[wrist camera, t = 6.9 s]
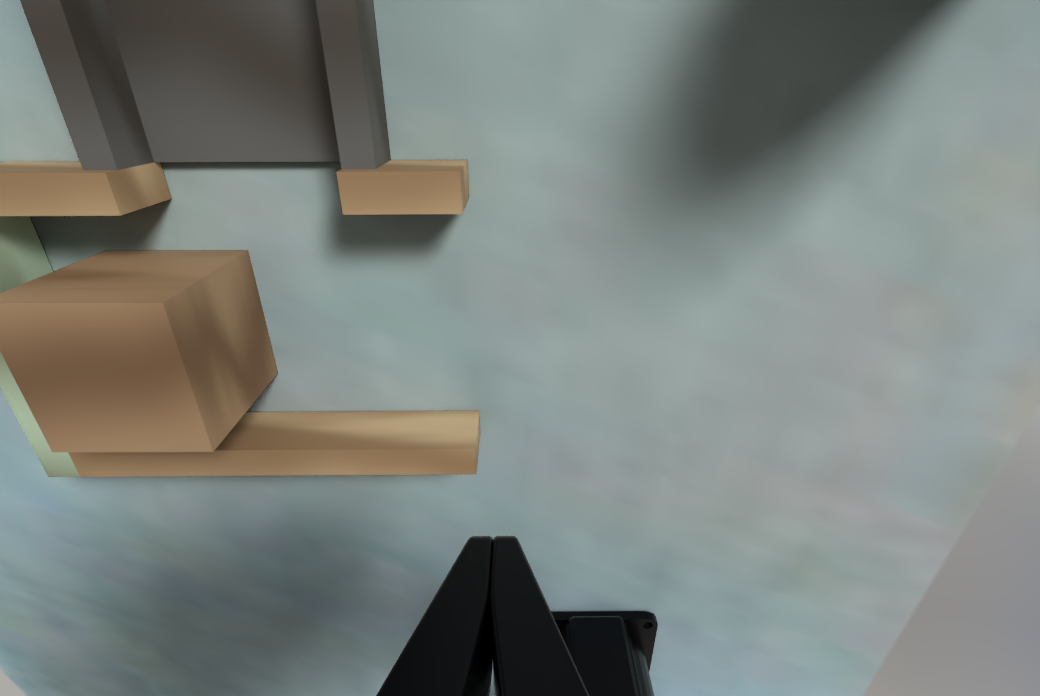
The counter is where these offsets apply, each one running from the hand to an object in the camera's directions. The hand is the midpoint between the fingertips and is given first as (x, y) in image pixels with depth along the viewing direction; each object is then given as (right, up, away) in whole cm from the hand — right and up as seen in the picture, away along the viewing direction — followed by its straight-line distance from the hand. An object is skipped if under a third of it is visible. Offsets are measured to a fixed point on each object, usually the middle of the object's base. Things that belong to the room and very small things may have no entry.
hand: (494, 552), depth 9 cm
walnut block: (-12, +5, +10) cm, 16 cm away
